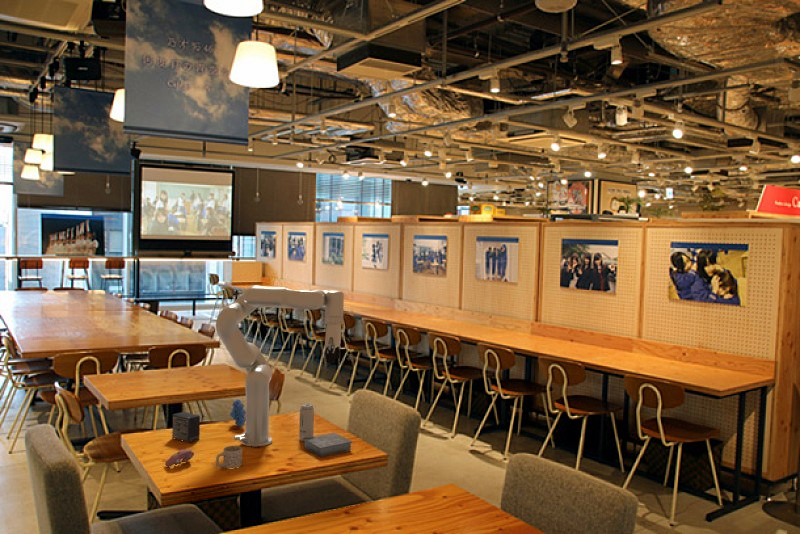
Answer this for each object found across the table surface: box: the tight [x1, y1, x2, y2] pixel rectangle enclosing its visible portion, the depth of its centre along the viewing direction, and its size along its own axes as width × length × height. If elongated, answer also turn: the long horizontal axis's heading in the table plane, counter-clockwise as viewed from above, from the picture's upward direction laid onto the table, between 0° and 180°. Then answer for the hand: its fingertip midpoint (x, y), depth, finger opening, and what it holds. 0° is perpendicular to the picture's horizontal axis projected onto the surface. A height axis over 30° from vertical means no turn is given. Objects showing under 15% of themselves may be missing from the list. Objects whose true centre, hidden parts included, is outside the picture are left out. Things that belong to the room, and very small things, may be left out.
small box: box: [171, 411, 201, 443], centre depth 269 cm, size 11×6×10 cm, turn 58°
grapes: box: [229, 399, 246, 428], centre depth 289 cm, size 12×7×12 cm, turn 37°
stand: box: [303, 432, 353, 458], centre depth 260 cm, size 15×14×4 cm
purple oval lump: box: [164, 448, 195, 467], centre depth 239 cm, size 10×5×7 cm, turn 148°
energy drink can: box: [298, 403, 315, 443], centre depth 272 cm, size 6×6×15 cm
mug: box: [215, 445, 243, 469], centre depth 238 cm, size 10×7×7 cm
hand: (333, 360), depth 268 cm, fingers open, 9 cm apart
